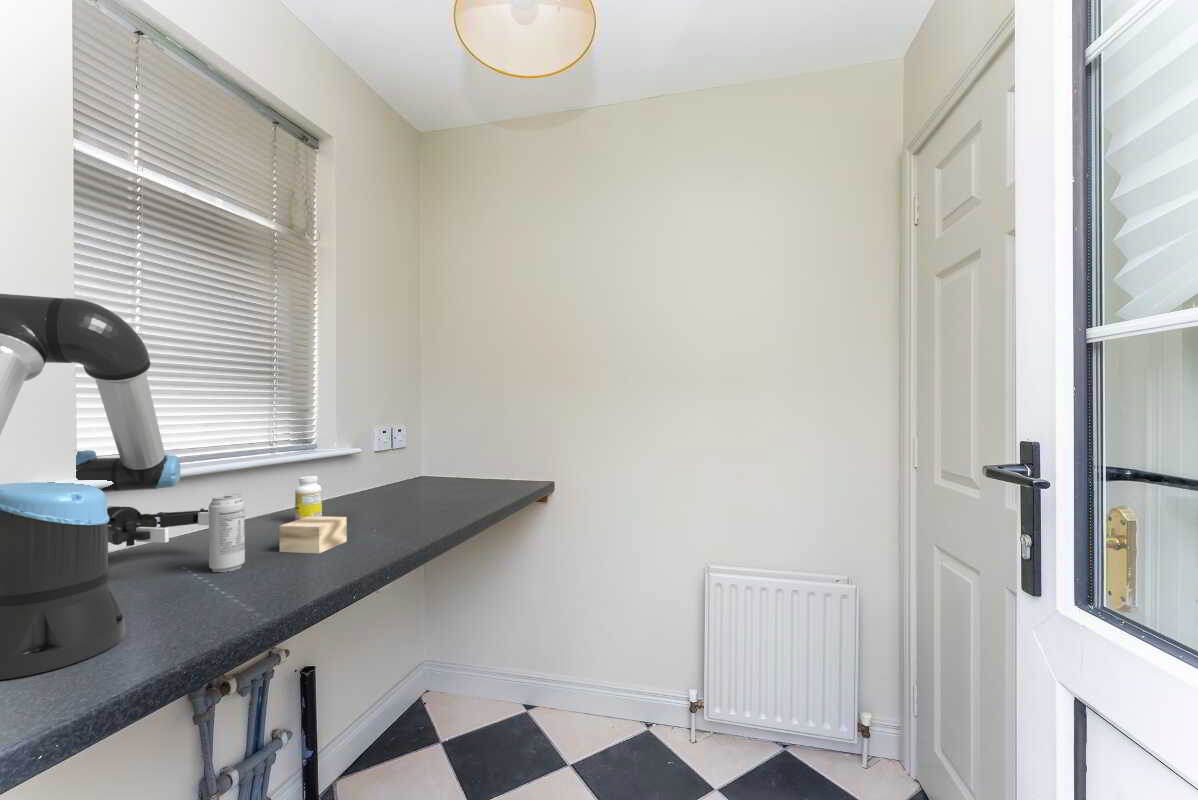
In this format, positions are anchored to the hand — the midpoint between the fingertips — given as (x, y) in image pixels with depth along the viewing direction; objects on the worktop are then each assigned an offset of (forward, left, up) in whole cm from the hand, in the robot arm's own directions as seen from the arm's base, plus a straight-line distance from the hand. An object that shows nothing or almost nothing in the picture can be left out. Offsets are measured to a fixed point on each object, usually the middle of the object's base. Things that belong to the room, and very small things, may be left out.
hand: (198, 526), depth 109 cm
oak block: (+17, -14, -8) cm, 23 cm away
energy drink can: (0, -7, -9) cm, 11 cm away
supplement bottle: (+40, +5, -9) cm, 41 cm away
